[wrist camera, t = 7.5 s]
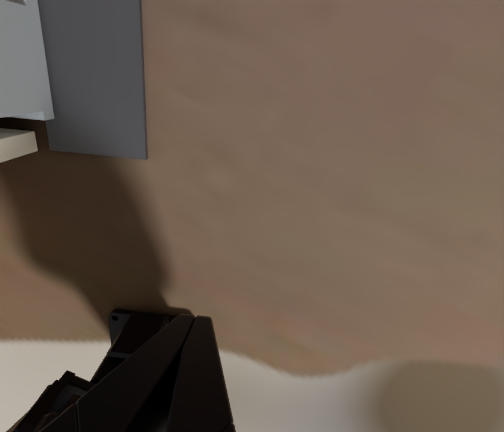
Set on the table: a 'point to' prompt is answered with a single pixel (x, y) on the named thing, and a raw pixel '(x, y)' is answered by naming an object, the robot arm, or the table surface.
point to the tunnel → (90, 80)
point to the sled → (23, 62)
